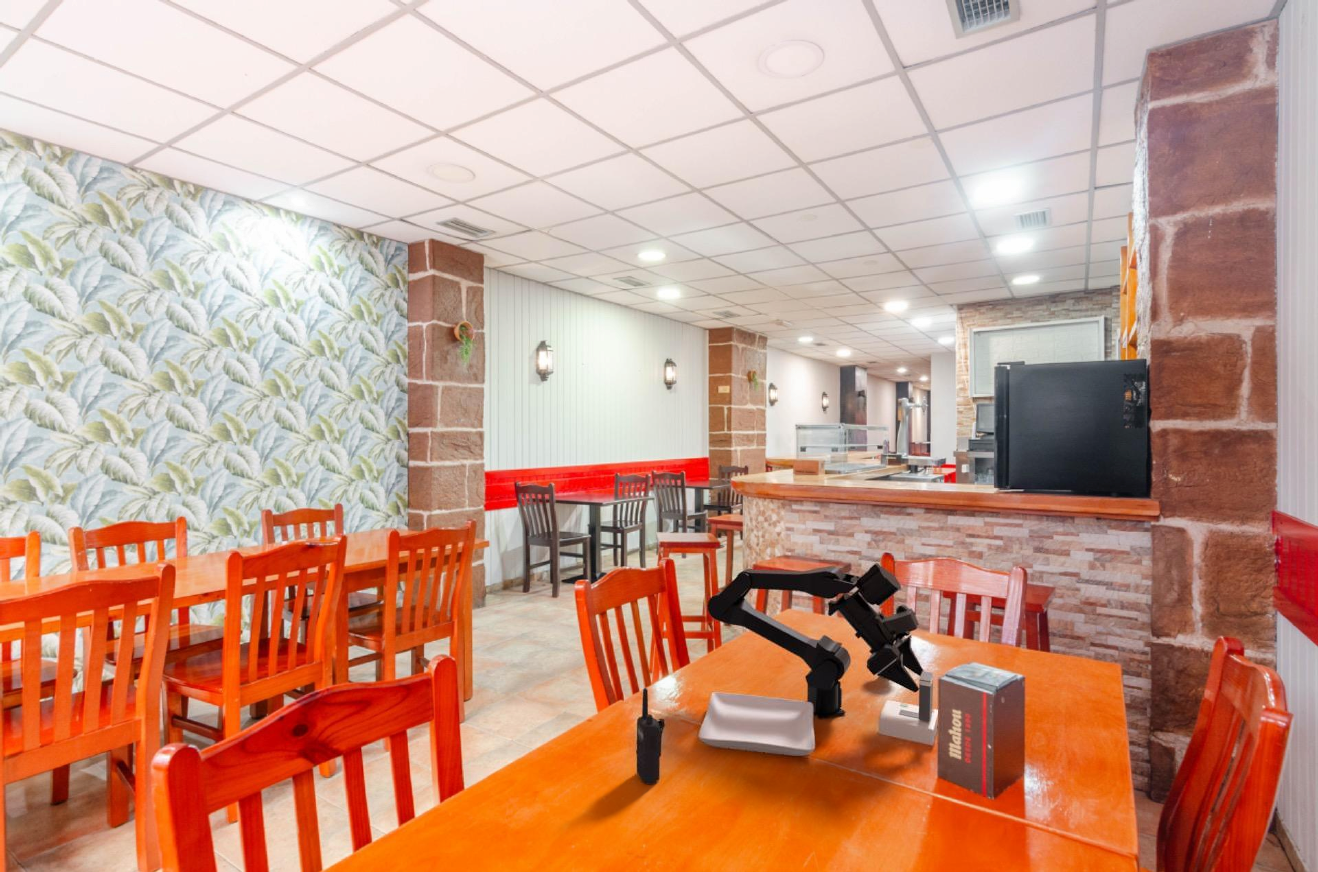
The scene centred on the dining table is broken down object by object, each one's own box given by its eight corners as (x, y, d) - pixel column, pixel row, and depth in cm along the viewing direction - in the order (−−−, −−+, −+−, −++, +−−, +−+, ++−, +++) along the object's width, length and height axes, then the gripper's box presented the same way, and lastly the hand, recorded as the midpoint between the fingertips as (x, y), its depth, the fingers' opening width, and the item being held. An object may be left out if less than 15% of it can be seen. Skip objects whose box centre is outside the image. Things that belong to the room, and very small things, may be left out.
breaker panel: (878, 733, 131) (878, 717, 131) (886, 713, 140) (887, 699, 140) (933, 745, 127) (933, 729, 127) (938, 724, 136) (938, 709, 136)
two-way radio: (633, 771, 116) (634, 685, 116) (657, 766, 118) (658, 682, 117) (644, 787, 111) (645, 697, 111) (669, 782, 113) (670, 694, 112)
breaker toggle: (918, 719, 130) (919, 679, 130) (921, 709, 135) (922, 670, 135) (929, 721, 129) (930, 681, 129) (932, 711, 134) (933, 672, 134)
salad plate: (815, 767, 119) (815, 748, 119) (696, 754, 123) (697, 735, 123) (813, 716, 140) (813, 700, 140) (711, 706, 144) (711, 690, 144)
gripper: (885, 606, 126) (947, 674, 121) (900, 585, 143) (956, 645, 138) (842, 640, 130) (901, 709, 125) (861, 616, 147) (914, 676, 142)
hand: (920, 682), depth 132 cm, fingers open, 9 cm apart
